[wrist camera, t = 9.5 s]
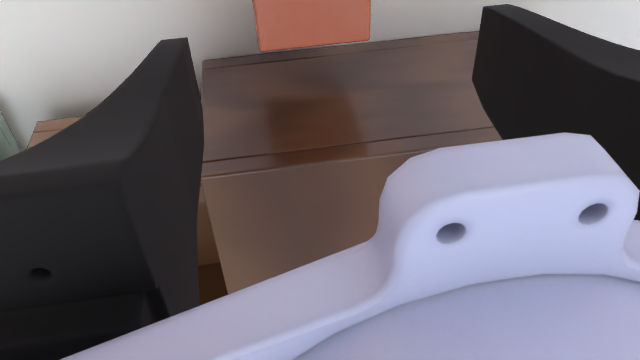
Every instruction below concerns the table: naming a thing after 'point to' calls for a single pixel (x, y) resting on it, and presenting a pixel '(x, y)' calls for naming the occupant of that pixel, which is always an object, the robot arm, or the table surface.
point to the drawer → (209, 267)
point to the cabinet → (324, 143)
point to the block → (310, 22)
